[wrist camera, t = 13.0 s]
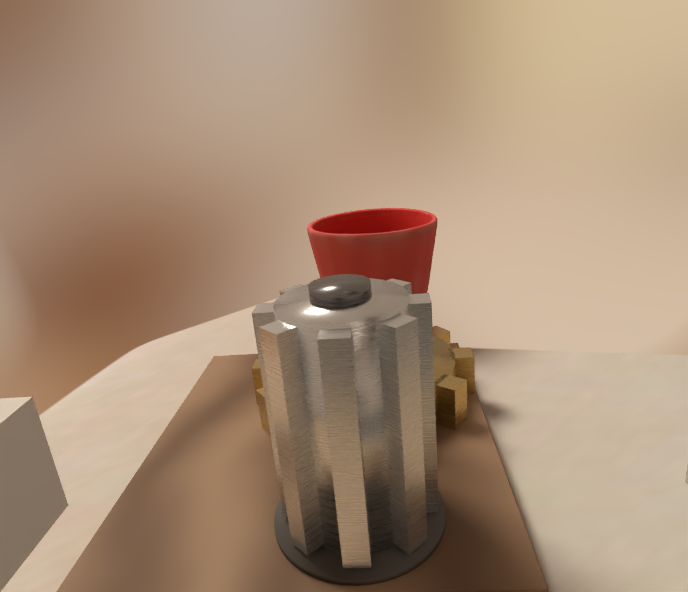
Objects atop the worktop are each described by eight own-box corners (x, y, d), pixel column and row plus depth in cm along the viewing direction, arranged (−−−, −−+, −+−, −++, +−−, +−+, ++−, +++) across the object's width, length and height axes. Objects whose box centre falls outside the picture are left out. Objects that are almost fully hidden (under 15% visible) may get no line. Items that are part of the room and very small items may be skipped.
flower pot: (399, 361, 40) (392, 236, 37) (294, 336, 47) (281, 228, 44) (461, 315, 48) (459, 209, 45) (363, 299, 55) (356, 206, 51)
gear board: (457, 355, 40) (457, 339, 40) (547, 610, 19) (548, 582, 19) (216, 367, 42) (213, 352, 41) (58, 616, 21) (50, 591, 21)
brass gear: (456, 344, 40) (456, 300, 39) (495, 452, 27) (496, 392, 26) (277, 354, 41) (271, 311, 40) (232, 462, 28) (222, 405, 27)
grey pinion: (430, 459, 26) (422, 254, 23) (447, 570, 20) (438, 309, 16) (297, 463, 27) (269, 264, 24) (271, 573, 21) (228, 321, 17)
